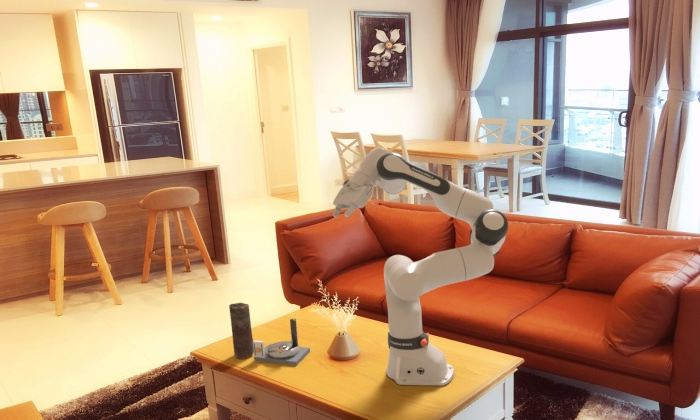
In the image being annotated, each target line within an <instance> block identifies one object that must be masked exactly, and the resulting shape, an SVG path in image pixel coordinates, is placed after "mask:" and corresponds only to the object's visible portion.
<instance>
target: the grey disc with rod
mask: <svg viewBox="0 0 700 420" xmlns="http://www.w3.org/2000/svg"><path fill="white" fill-rule="evenodd" d="M289 323H290V324H289V325H290V335H291V336H290V339H291V340H284V341H282V340H281V341H278V342H274V343H272V344H271V343H270V344H271V345H270V346H269V347H268V348H267V353H268V356H269V357H270V358H272V359H288V358H291V357H294V356H296V355H297V354H298V353H299V347H300V346H299V341H298V328H297V319H296V318H290V319H289Z"/></svg>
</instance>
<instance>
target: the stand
mask: <svg viewBox="0 0 700 420" xmlns="http://www.w3.org/2000/svg"><path fill="white" fill-rule="evenodd" d="M270 345H271V343H268V344H267V346H265V341H264V340H253V348H254V353H253V361H254V362H259V363H266V364H267V363H268V364H277V365H286V366H288V365H289V366H296V367H297V366H298V365H299V364H300V363H301V362H302V360H304V358H306V357H307V356H308V354H309V353H311V348H310V347H305V346H299V353H298V354H297V355H296V356H294V357H291V358H288V359H272V358H270V357H269V356H268V353H267V348H268V347H269V346H270Z"/></svg>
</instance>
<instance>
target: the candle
mask: <svg viewBox="0 0 700 420" xmlns="http://www.w3.org/2000/svg"><path fill="white" fill-rule="evenodd" d="M228 308H229V316H230V317H229V318H230V326H231V333H232V334H231V336H232V344H233V353H234V356H235V358H237V359H238V360H239V359H240V360H243V359H247V358H248V357H250V356H252V355H254V348H253V341H254V340H253V339H254V337H253V331H252V324H251V323H252V321H251V314H250V313H251V311H250V305H249V304H247V303H244V302H236V303H231V304H229V305H228Z"/></svg>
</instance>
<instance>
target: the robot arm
mask: <svg viewBox="0 0 700 420" xmlns="http://www.w3.org/2000/svg"><path fill="white" fill-rule="evenodd" d="M407 183H409V184H411V185H414V186H416V187H418V188H420V189H423V190H424V191H426V192H427V193H428V194H429V196H430V197H431V198H432V200H433V202H434V204H435V206H436V208H437V209H438V210H439V211H440V212H442V213H443V214H445V215H447V216H450V217H451V218H454V219H458V220H460V221H463V222H465V223H466V224H469V226H470V228H471V229H470V230H469V245H465V246H461V247H456V248H450V249H447V250H442V251H437V252H433V253H432V254H430V255H429V256H427V257H426V258H422V259H420V260H416V261H413V260H412V259H411V258H410V257H408V256H406V255H402V254H395V255H392V256H390V257H388V258H387V260H386V261H385V263H384V266H383V280H384V289H385V297H386V305H387V306H386V307H387V317H388V318H387V319H388V332H387V344H388V349H389V353H388V362H387V365H386V366H387V367H386V375H387V377H389V378H390V379H391V380H394V381H395V383H396V384H398V385H399V386H439V387H441V386H445V385H448V384H449V383H450V382H451V381H452V380H453V377H454V375H455V369H454V367H453V365H451V363H450V364H449V363H447V357H446V356H445V353H444V352H443V351H441V349H439V348H437V347H436V346H434V345H433V344H432V343H431V342H429V340H430V339H429V336H430V333H429V332H427V333H426V332H424V331H423V318H422V317H423V316H422V315H423V314H422V306H421V301H420V297H421V296H422V295H424V294H426V293H429V292H431V291H433V290H435V289H438V288H441V287H444V286H448V285H452V284H457V283H460V282H461V283H462V282H465V281H470V280H474V279H477V278H480V277H482V276H485V275H487V274H489V273H491V271H493V269H494V266H495V257H496V256H497V254H499V252H500V251H501V248H502V246H503V245H504V243H505V240H506V236H507V233H508V231H509V222H508V218H507V217H506V215H505V214H504V213H503V212H502V211H499V210H497V209H494V205H493V201H492V200H491V199H489V198H488V197H486V196H485V195H482V194H480V193H479V192H477V191H474V190H471V189H469V188H466V187H463V186H461V185H459V184H456V183H453V182H451V181H450V180H448V179H446V178H444V177H442V176H440V175H438V174H435V173H434V172H432V171H429V170H427V169H425V168H422V167H421V166H418V165H415V164H413V163H411V162H410V161H408V159H406V158H405V157H404V156H403V155H401V154H400V153H397V152H390V151H389V150H387V149H386V148H383V147H375V148H372V149H371V150H370V151H369V152H368V153H367V155H366V156H365V157H364V158H363V159H362V161H361V163H360V165H359V167H358V169H357V170H355V172H354V173H353V174H352V176H351V177H350V178H348V179H347V180H345V181H344V182H342V187H341V189H339V191H338V192H337V195H336V196H335V198H334V199H333V203H332V205H334V206H335V208H334V211H333V213H332V215H331V216H333V217H334V218H338V217H339V216H340V214H341V211H342V210H343V209H347V210H345V211H344V213H343V216H344V217H345V218H350V217H351V215H352V214H354V212H355V211H356V210H357V209H363V208H364V207H365V206H366V205H367V203H368V201H369V200H370V198H371V196H372V194H373V189H374V188H375V187H376V186H378V188H380V189H381V190H383V192H386V194H387V193H388V194H389V195H397V194H399V193H400V194H401V192H403V191H404V190H405V188H406V186H407Z"/></svg>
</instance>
